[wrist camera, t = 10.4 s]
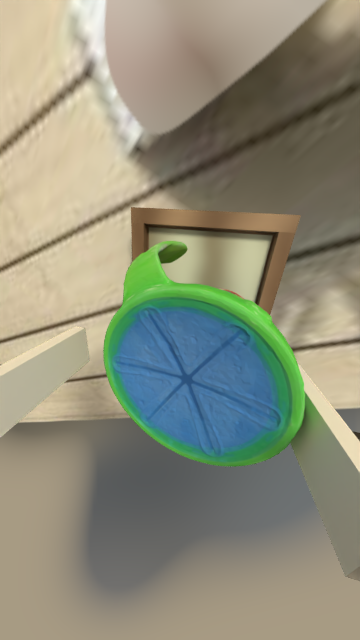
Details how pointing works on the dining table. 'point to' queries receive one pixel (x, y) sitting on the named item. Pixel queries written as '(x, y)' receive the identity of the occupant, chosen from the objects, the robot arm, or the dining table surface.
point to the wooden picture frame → (220, 248)
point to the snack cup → (201, 367)
